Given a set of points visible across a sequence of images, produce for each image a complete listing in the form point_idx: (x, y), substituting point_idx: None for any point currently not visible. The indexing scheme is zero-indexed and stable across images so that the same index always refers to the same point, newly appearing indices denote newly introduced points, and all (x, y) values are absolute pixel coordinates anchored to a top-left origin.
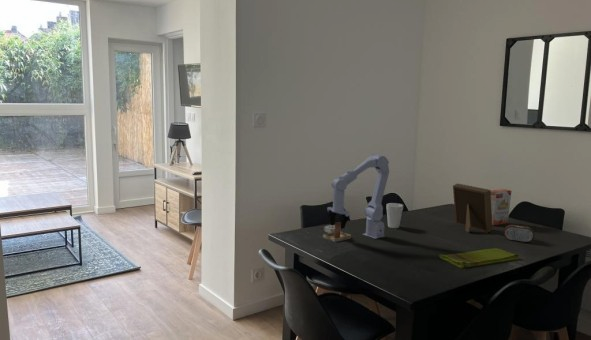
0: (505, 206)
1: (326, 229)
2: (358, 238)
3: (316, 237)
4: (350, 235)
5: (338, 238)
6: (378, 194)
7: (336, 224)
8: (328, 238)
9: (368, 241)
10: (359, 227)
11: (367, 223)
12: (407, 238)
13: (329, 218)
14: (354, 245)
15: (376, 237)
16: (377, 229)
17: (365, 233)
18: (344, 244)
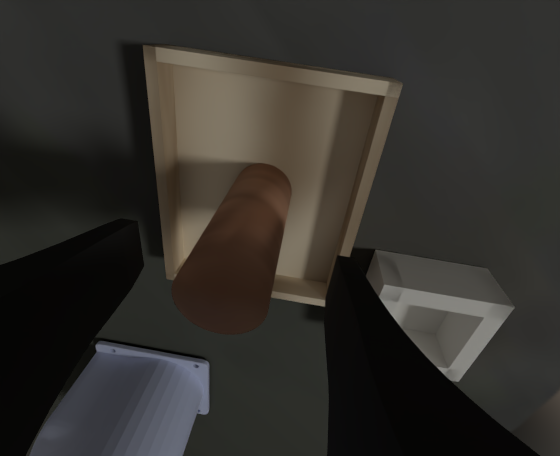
0: None
1: (465, 283)
2: (165, 295)
3: (475, 43)
4: (169, 267)
5: (150, 102)
6: None
7: (206, 251)
8: (281, 63)
9: None
10: (322, 440)
11: (130, 452)
12: (48, 413)
13: (400, 336)
14: (21, 132)
15: (96, 353)
16: (57, 408)
17: (201, 378)
18: (81, 82)
